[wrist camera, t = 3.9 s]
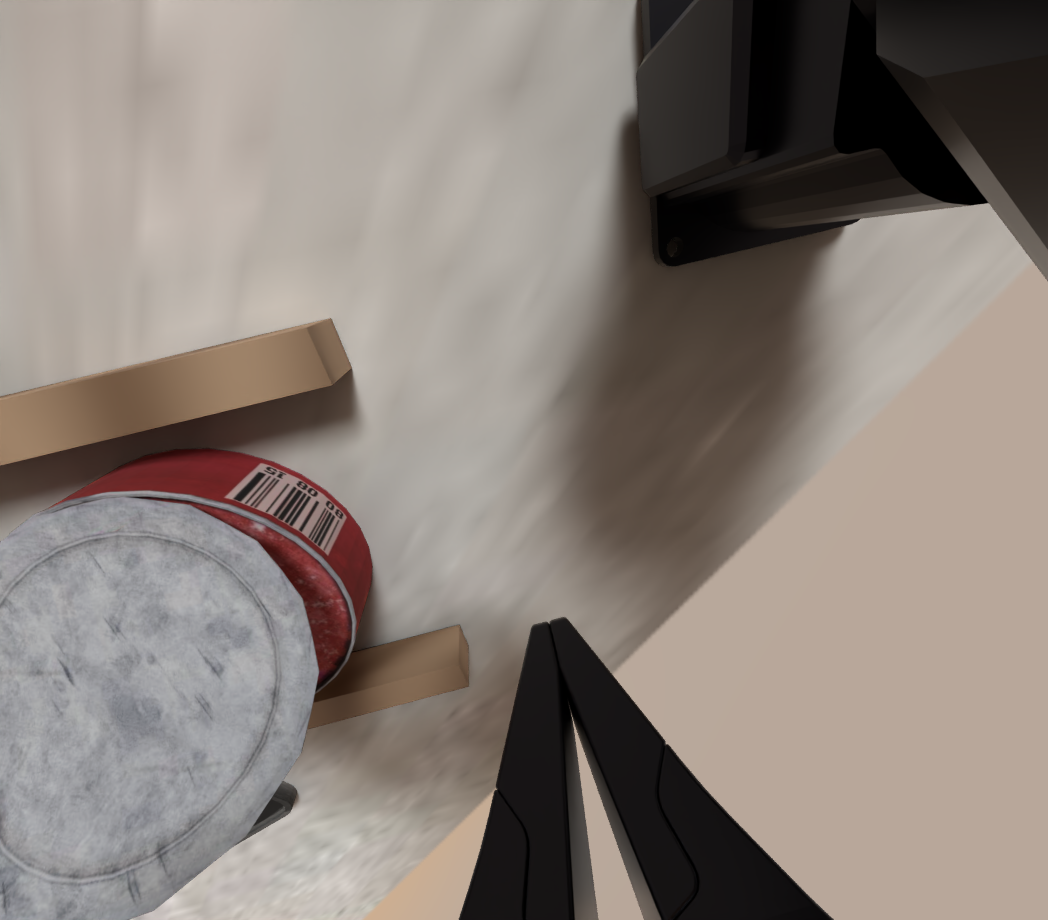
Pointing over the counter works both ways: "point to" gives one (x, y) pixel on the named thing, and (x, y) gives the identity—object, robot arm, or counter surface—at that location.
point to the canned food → (161, 672)
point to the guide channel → (214, 387)
